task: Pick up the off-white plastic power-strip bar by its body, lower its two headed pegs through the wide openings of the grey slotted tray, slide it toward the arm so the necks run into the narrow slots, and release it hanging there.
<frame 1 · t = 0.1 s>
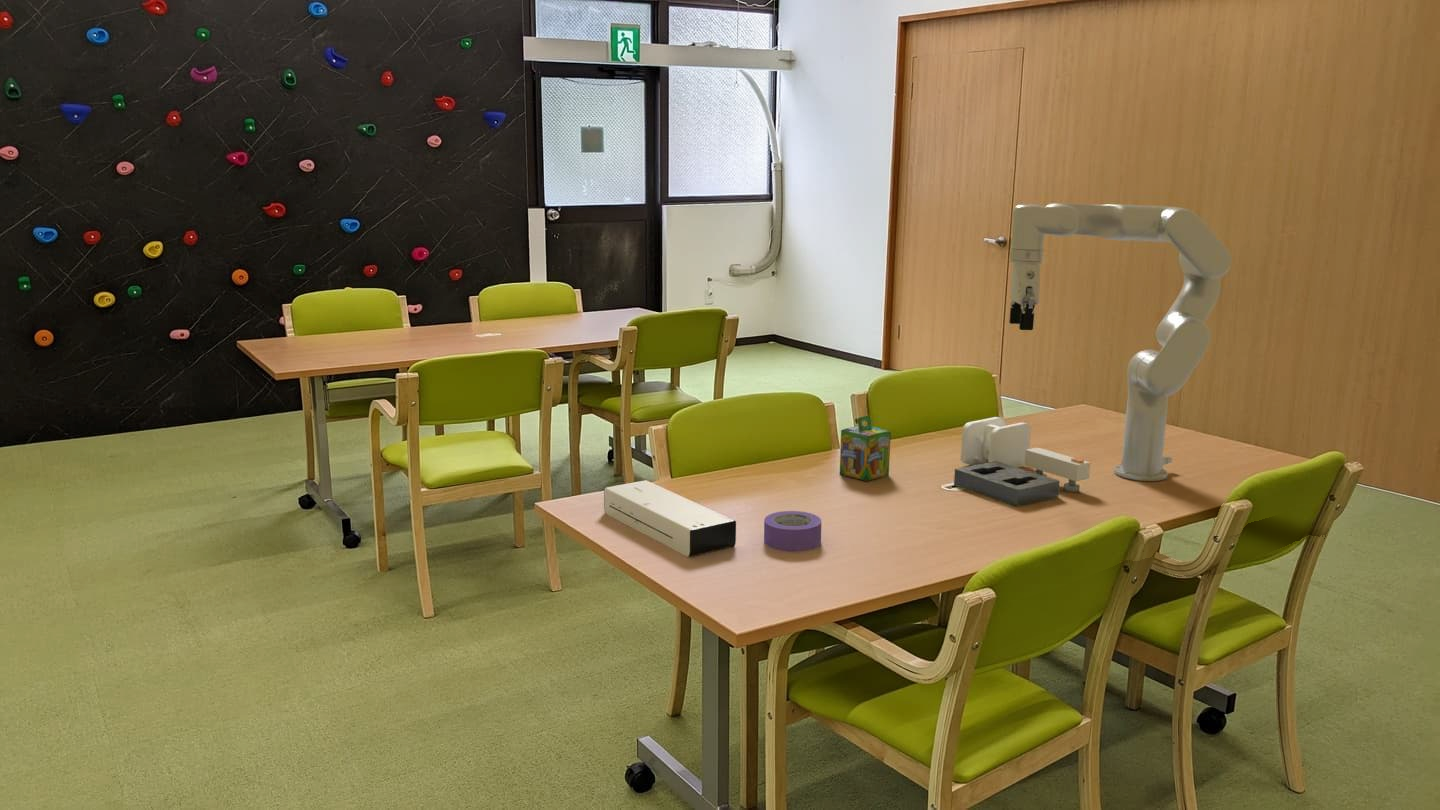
hand: (1020, 326, 280), 37 cm above the table, tool pointing down, fingers open, 9 cm apart
strip: (1054, 485, 278), on the table
cable organizer: (993, 467, 295), on the table
chalk box: (864, 475, 285), on the table
grey slotted tray: (1005, 491, 273), on the table
tape roll: (792, 543, 237), on the table
laminator: (669, 531, 244), on the table
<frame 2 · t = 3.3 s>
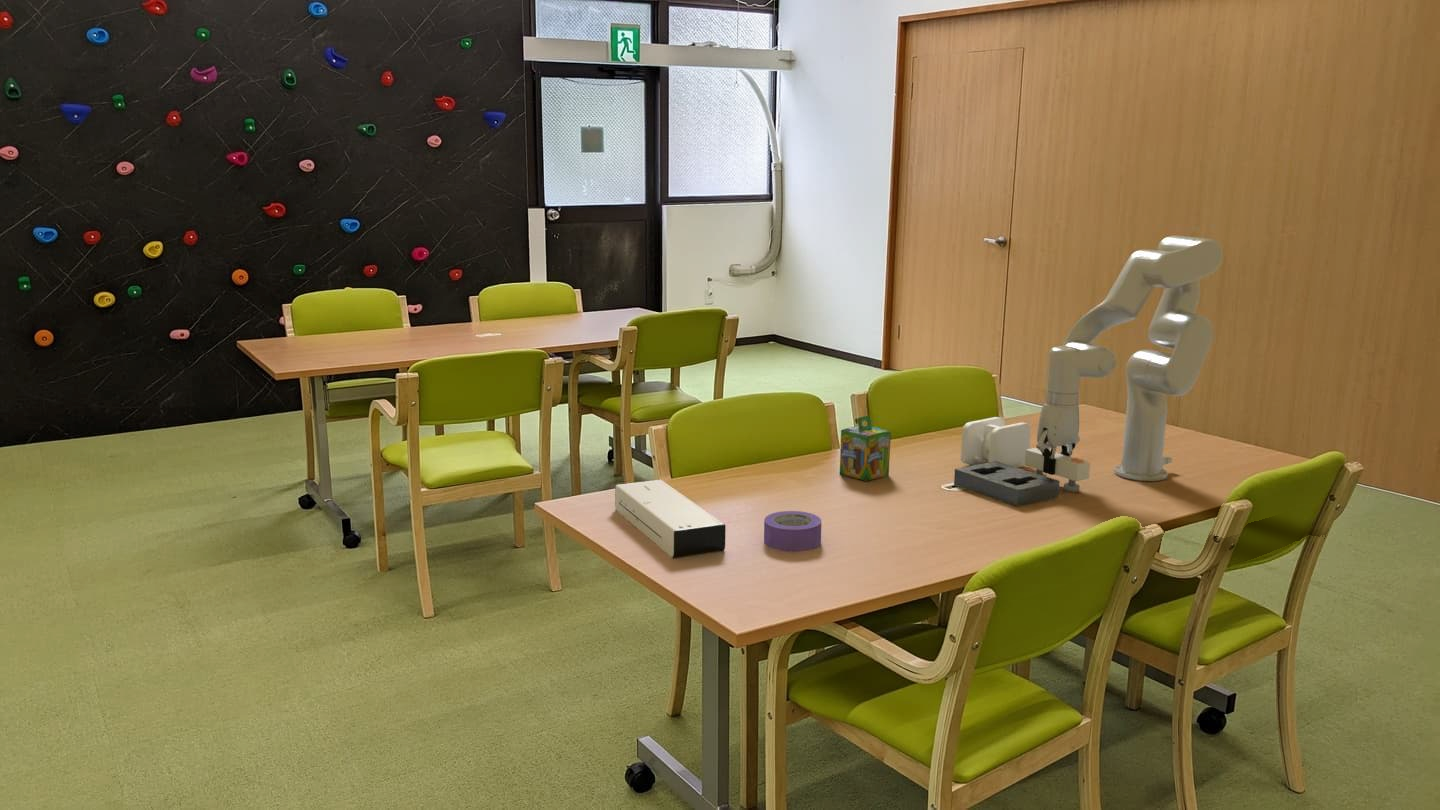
hand: (1056, 471, 278), 4 cm above the table, tool pointing down, fingers closed on strip, 4 cm apart
strip: (1054, 485, 278), on the table, touching gripper
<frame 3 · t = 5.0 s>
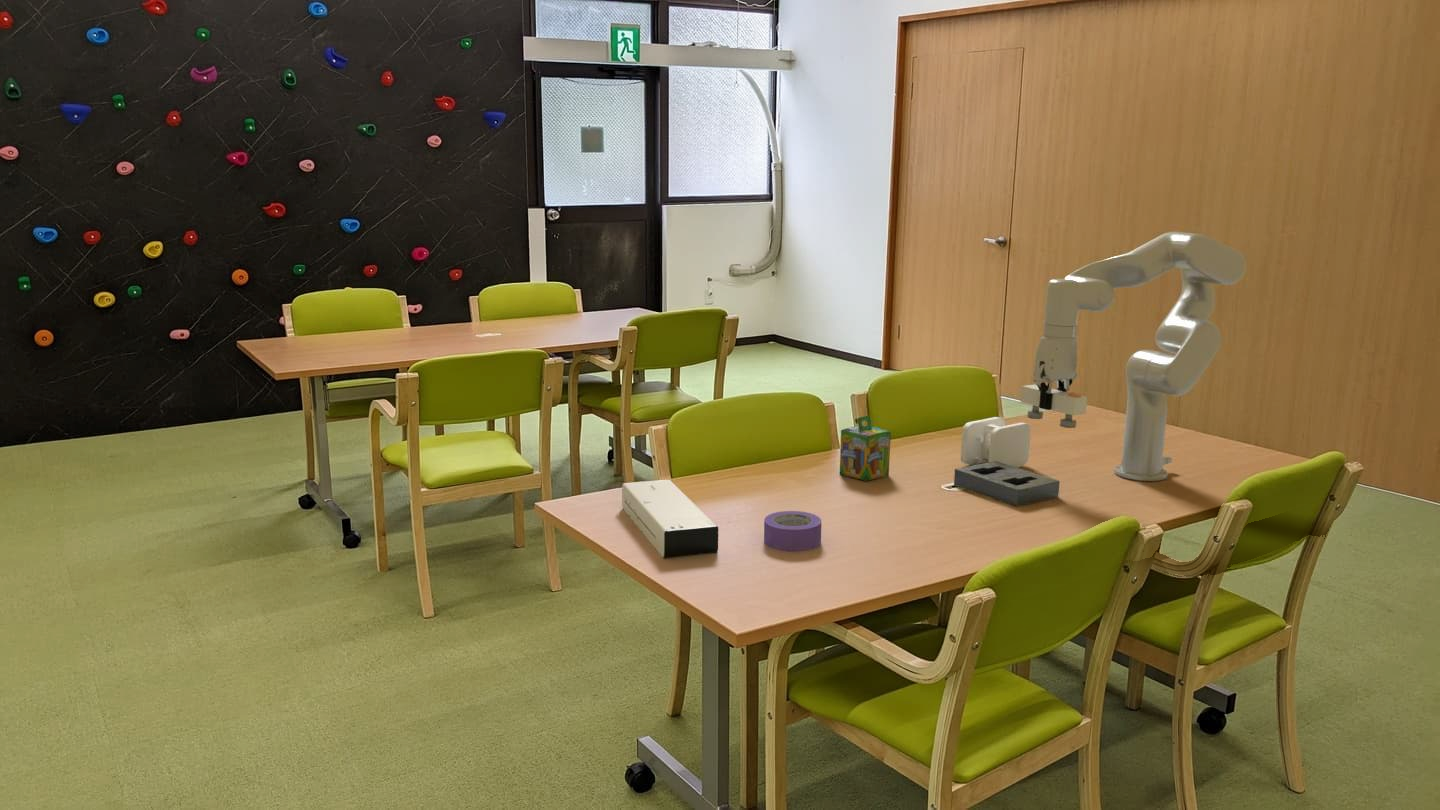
hand: (1052, 407, 273), 20 cm above the table, tool pointing down, fingers closed on strip, 4 cm apart
strip: (1051, 421, 274), point 16 cm above the table, touching gripper
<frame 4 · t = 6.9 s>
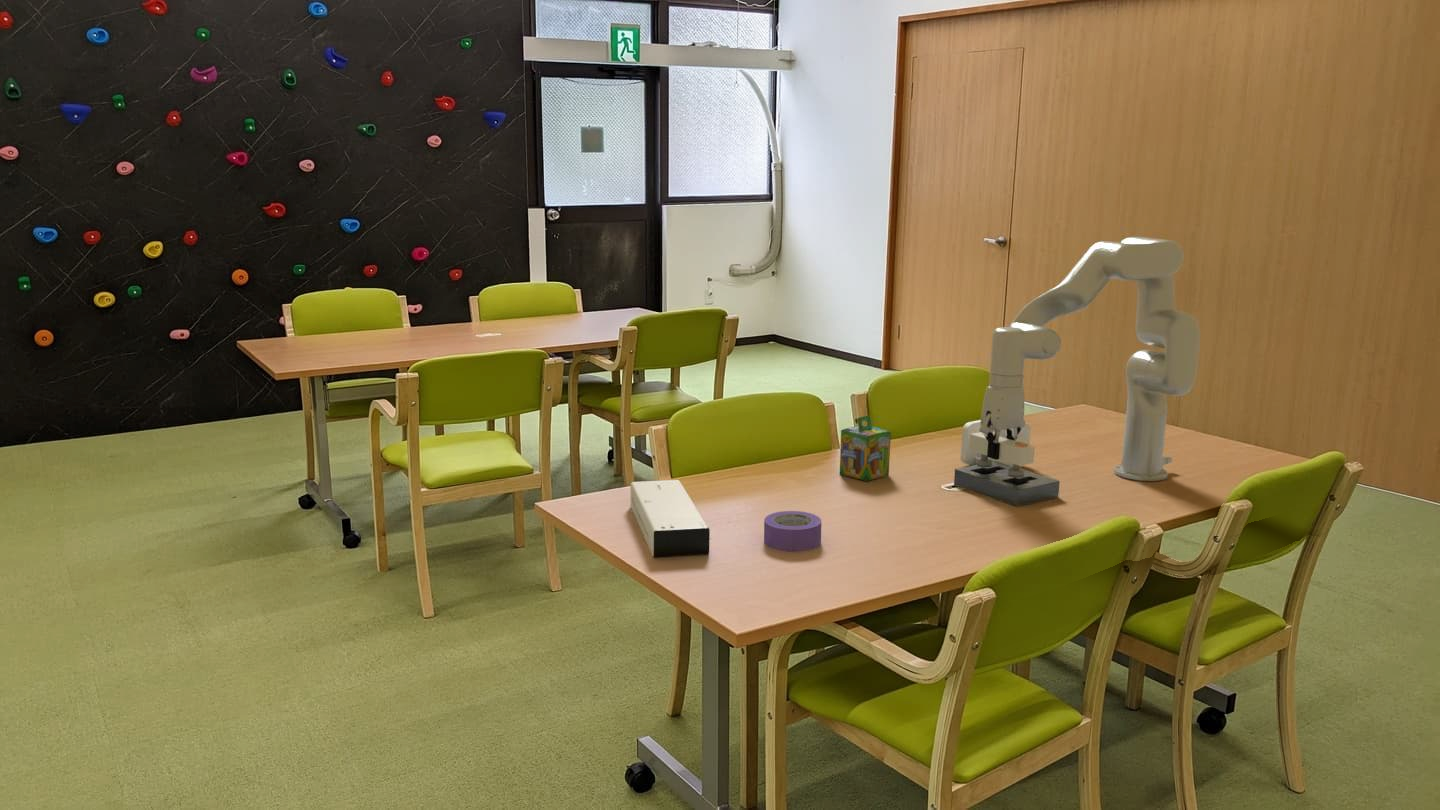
hand: (1000, 456, 270), 9 cm above the table, tool pointing down, fingers closed on strip, 4 cm apart
strip: (999, 470, 271), point 5 cm above the table, touching gripper
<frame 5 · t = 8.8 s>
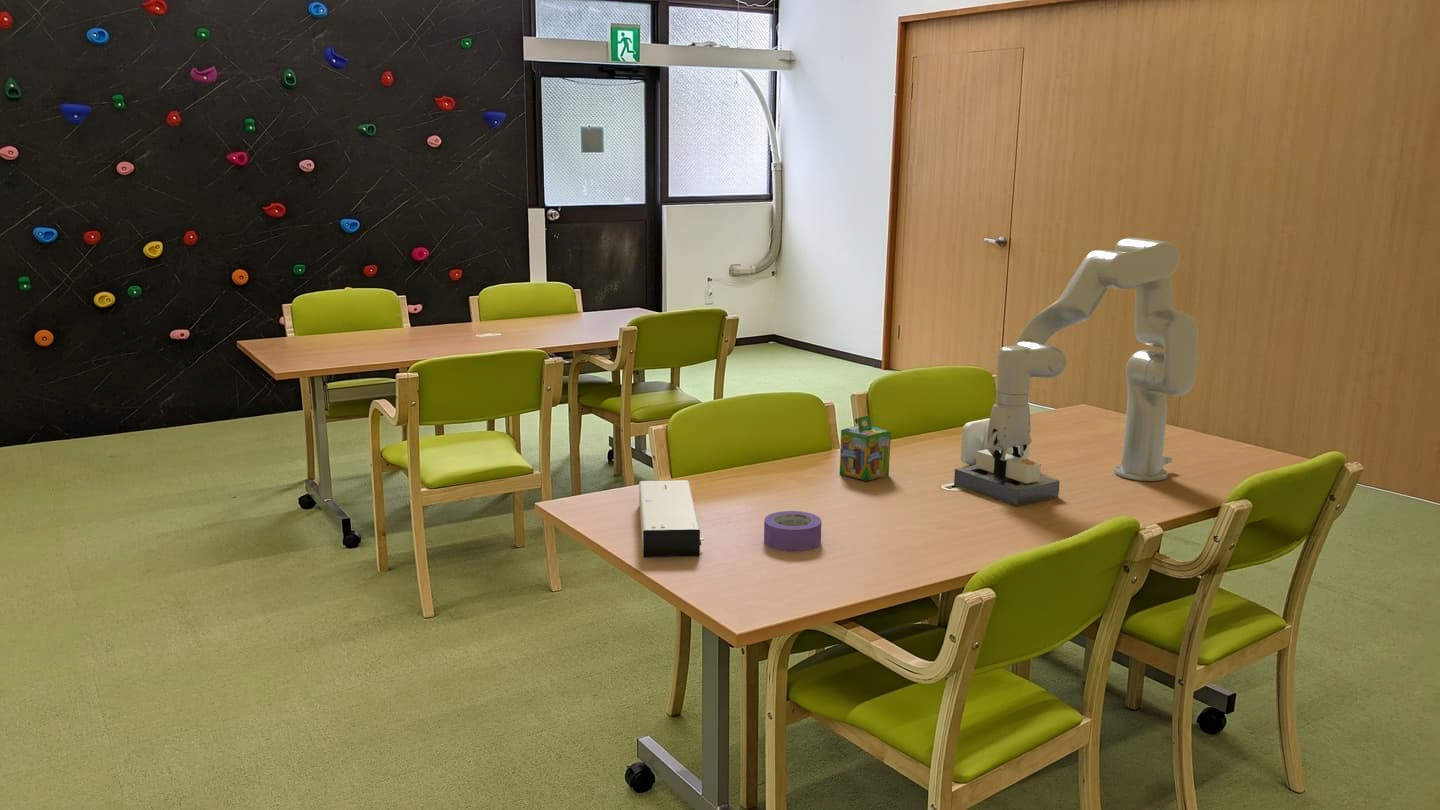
hand: (1007, 473, 272), 4 cm above the table, tool pointing down, fingers closed on strip, 4 cm apart
strip: (1006, 487, 273), point 1 cm above the table, touching gripper
when the fingers open (4 cm above the table, at t = 10.3 s): strip stays where it is, resting on grey slotted tray.
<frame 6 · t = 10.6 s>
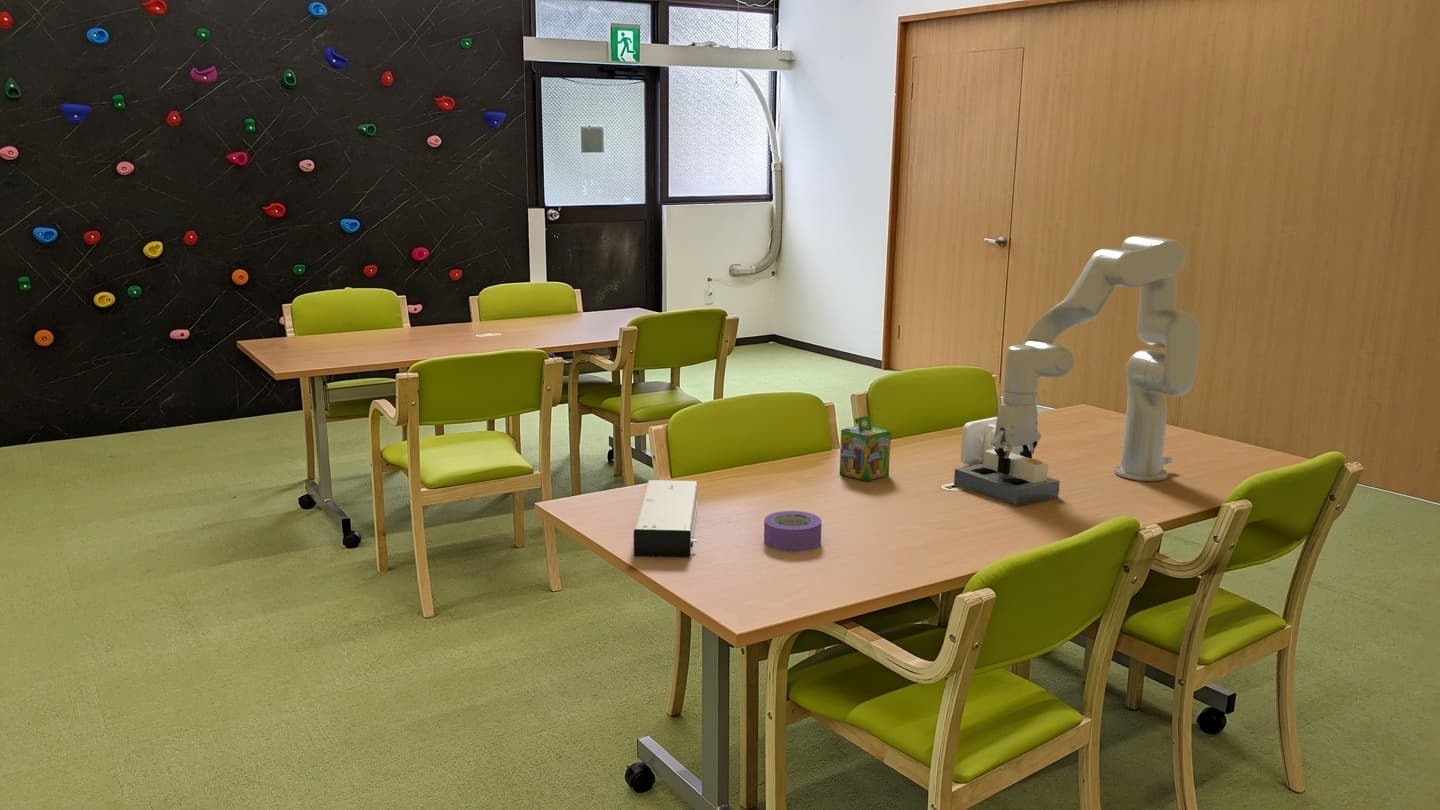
hand: (1014, 470, 274), 5 cm above the table, tool pointing down, fingers open, 6 cm apart
strip: (1013, 486, 275), point 1 cm above the table, touching grey slotted tray
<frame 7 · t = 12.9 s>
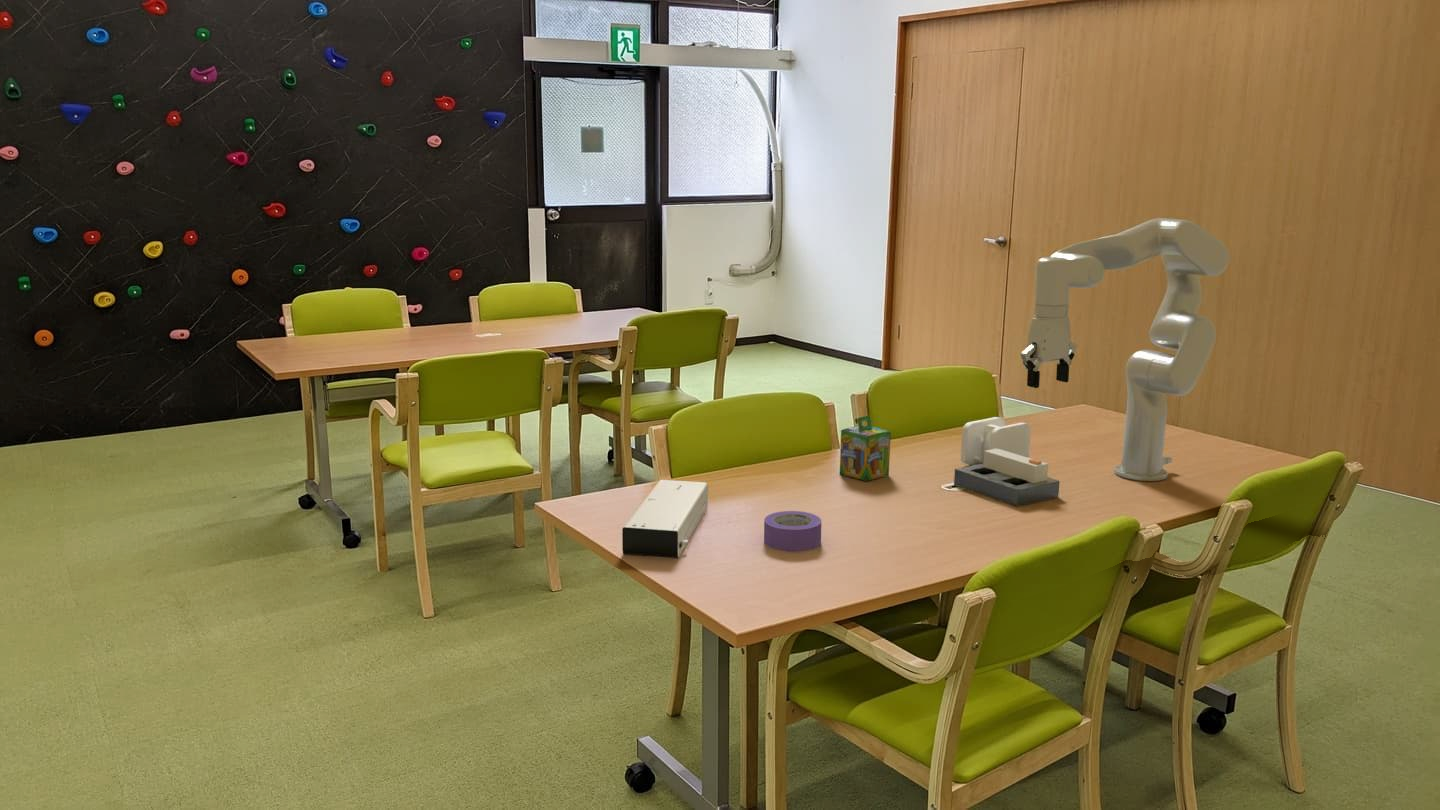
hand: (1047, 384, 268), 26 cm above the table, tool pointing down, fingers open, 9 cm apart
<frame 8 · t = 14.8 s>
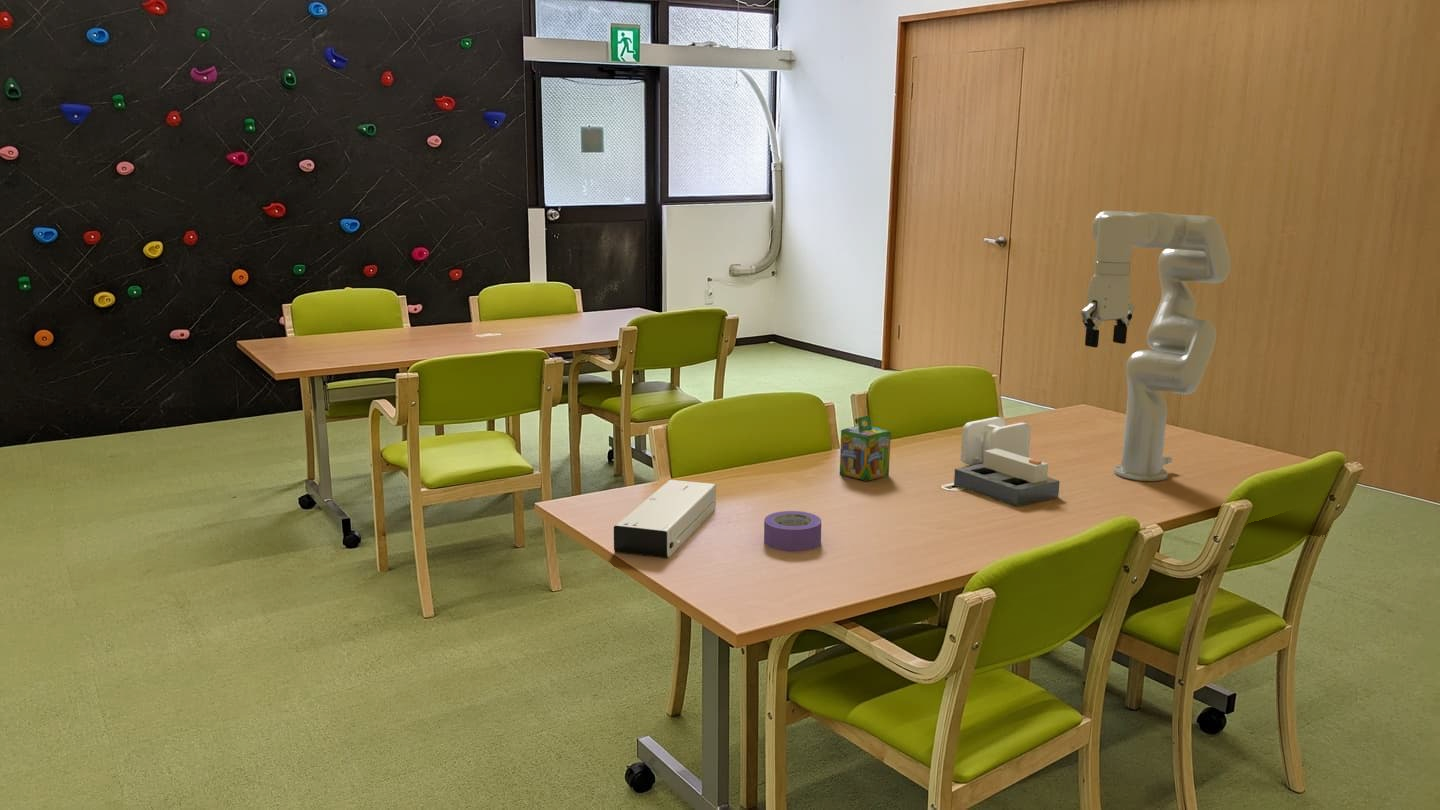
hand: (1105, 344, 261), 36 cm above the table, tool pointing down, fingers open, 9 cm apart
at the end: strip 0.1 cm from the target spot on the grey slotted tray, point 0.6 cm above the grey slotted tray's base; strip tilted 0°; the gripper is holding nothing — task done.
